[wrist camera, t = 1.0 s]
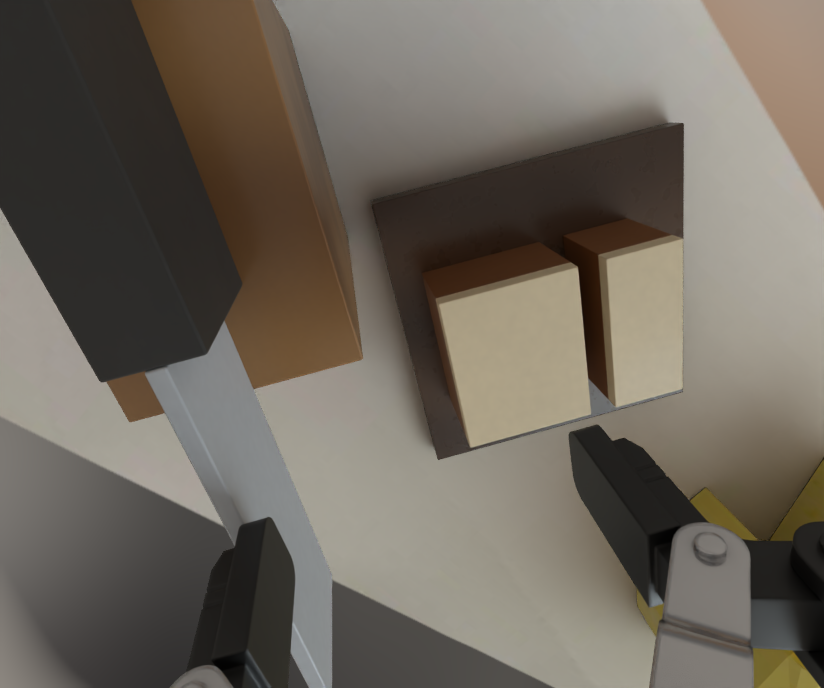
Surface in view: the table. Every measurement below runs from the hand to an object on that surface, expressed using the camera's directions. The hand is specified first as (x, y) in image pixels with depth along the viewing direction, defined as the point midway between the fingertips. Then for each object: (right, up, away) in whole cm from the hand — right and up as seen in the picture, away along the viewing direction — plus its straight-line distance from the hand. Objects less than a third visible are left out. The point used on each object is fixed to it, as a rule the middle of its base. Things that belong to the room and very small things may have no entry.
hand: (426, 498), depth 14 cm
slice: (+13, +7, +23) cm, 27 cm away
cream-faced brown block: (+5, +5, +22) cm, 24 cm away
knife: (-6, +4, +3) cm, 8 cm away
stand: (-10, +15, +17) cm, 25 cm away
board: (+9, +7, +24) cm, 26 cm away
